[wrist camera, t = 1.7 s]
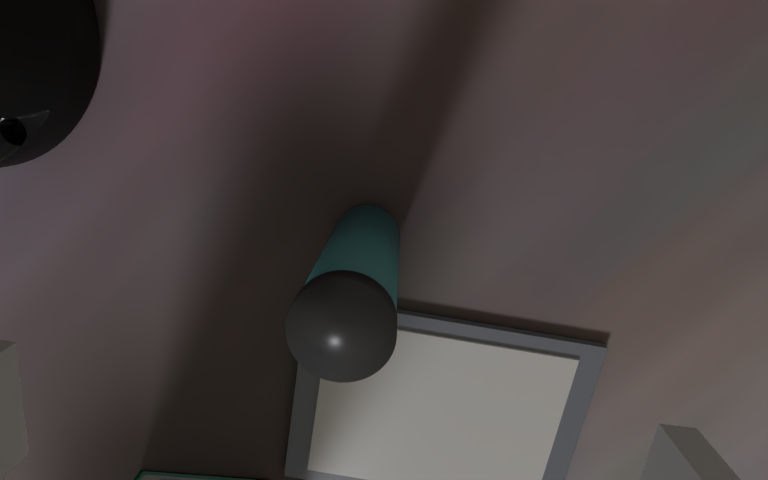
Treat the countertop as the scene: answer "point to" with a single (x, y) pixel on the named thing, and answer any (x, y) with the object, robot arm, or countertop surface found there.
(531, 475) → the writing board
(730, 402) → the countertop surface
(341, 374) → the teal and grey cylinder
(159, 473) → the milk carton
